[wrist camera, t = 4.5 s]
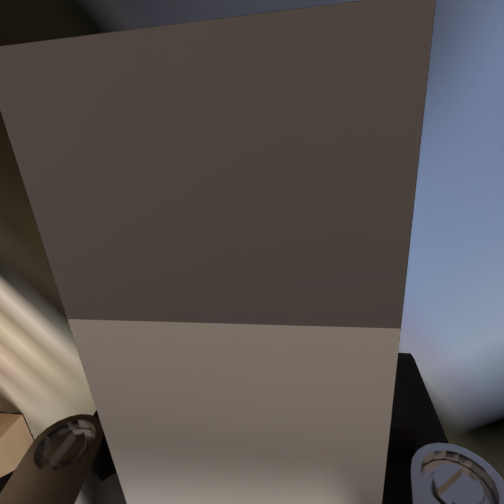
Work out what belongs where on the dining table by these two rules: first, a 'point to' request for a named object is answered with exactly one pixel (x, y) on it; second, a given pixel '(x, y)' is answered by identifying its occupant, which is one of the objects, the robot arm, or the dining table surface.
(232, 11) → the dining table surface
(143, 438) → the bed rail
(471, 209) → the dining table surface
